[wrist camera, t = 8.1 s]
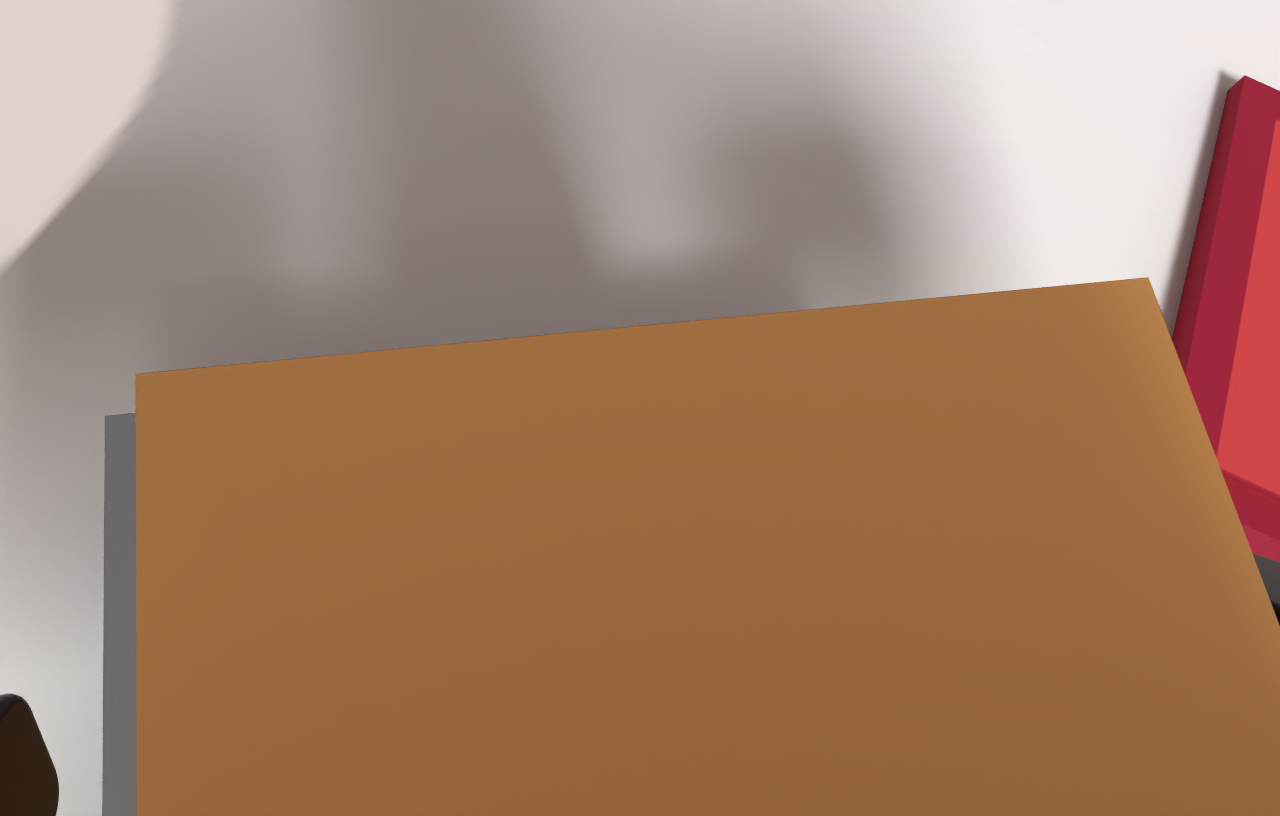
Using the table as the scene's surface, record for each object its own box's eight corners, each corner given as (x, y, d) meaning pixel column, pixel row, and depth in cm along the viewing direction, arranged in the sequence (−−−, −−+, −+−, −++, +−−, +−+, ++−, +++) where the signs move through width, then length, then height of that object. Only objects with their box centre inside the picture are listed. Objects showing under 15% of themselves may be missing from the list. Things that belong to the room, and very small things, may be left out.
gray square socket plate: (1007, 1107, 14) (1110, 1181, 12) (175, 1357, 12) (97, 1510, 9) (827, 386, 18) (878, 335, 15) (162, 463, 15) (105, 416, 13)
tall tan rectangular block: (746, 905, 15) (1604, 1486, 3) (426, 979, 14) (141, 2150, 2) (688, 592, 16) (1148, 277, 5) (396, 637, 15) (136, 372, 4)
